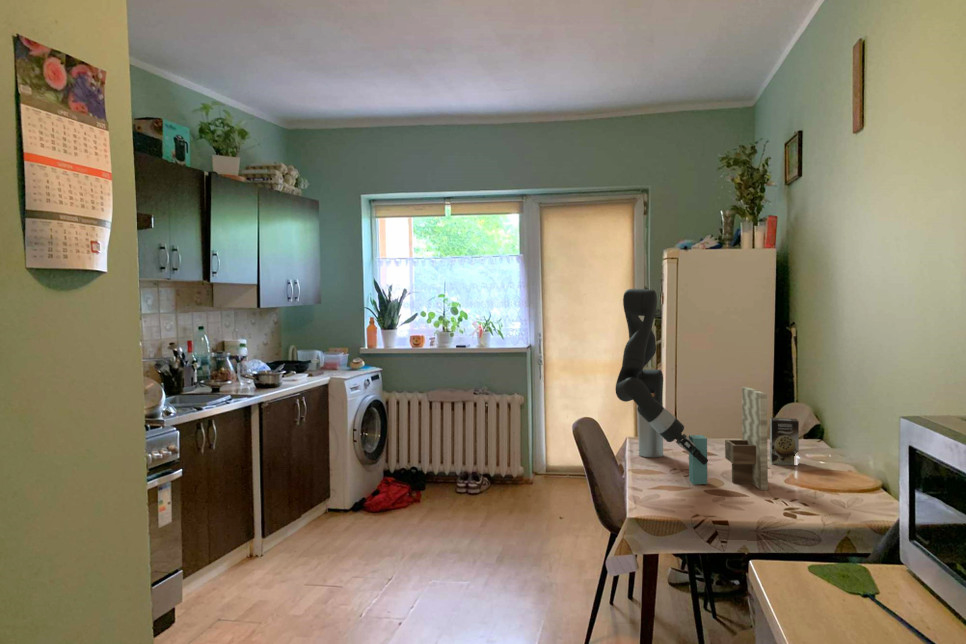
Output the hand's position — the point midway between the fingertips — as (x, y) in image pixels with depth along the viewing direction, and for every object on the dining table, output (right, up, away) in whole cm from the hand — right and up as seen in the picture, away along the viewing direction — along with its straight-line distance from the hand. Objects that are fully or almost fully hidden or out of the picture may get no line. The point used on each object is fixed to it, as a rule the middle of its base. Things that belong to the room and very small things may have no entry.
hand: (703, 460), depth 218 cm
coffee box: (+37, -6, +24) cm, 44 cm away
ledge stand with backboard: (+12, -7, -1) cm, 14 cm away
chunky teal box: (-2, -7, 0) cm, 7 cm away
